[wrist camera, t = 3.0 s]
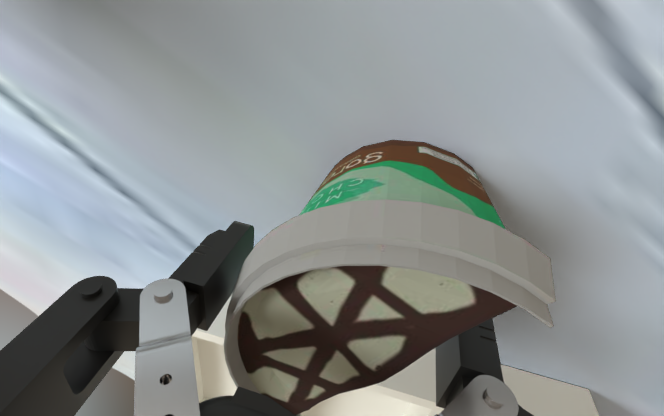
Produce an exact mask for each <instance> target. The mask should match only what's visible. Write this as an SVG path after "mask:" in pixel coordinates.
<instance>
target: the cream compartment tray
mask: <svg viewBox="0 0 664 416" xmlns="http://www.w3.org/2000/svg"><path fill="white" fill-rule="evenodd" d="M231 297H232V294H231V296H230V297H229V299H228V300H227V302H226V303H225V305H224V306H223V308H222V309H221V311H220V312H219V314H218V315H217V317H216V318H215V320H214V321H213V323H212V324H211V326H210V328H209V329H208V331H205V330H201V329H198V328H197V329H196V331H195V332H194V334H193V335H192V337H191V338H192V346H193V355H194V363H195V372H196V380H197V389H198V397H199V403H201V402H203V401H205V400H208V399H211V398H215V397H219V396H234V394H235V392H236V390H237V387H236V385H235V383H234V381H233V379H232V378H231V376H230V373H229V370H228V367H227V364H226V361H225V353H224V339H225V322H226V315H227V309H228V306H229V303H230V300H231ZM501 369H502V375H503V380H504V384H506V385H507V386H508V387H509V388H510V390H511V391H512V392H513V394H514V395H515V397H516V399H517V402H518V404H519V405H520V406H521V407H522V408H523V409H525V410H526V411H528V412H529V413H531V414H532V415H534V416H599V414H598V412H597V409H596V407H595V404H594V402H593V399H592V397H591V394H590V392H589V389H585V388H582V387H578V386H575V385H571V384H568V383H564V382H561V381H557V380H554V379H550V378H547V377H544V376H540V375H537V374H533V373H530V372H526V371H523V370H519V369H516V368H512V367H509V366H505V365H502V364H501ZM443 410H444V408H441V407H438V406H436V349H435V348H434V349H433V350H431V351H430V352H428V353H427V354H425V355H424V356H422V357H421V358H419V359H418V360H416V361H415V362H413V363H412V364H410V365H409V366H408V367H406V368H405V369H403V370H402V371H400V372H398V373H397V374H395V375H393V376H391V377H390V378H388V379H387V380H385V381H383V382H380V383H377V384H374V385H371V386H368V387H365V388H361V389H357V390H353V391H349V392H345V393H341V394H337V395H335V396H333V397H331V398H329V399H326V400H324V401H322V402H320V403H318V404H316V405H315V406H313V407H312V408H311V409H310V410H308V411H304V412H302V413H301V415H300V416H435V415H436V414H438V415H439V414H440V413H441V412H442V411H443Z"/></svg>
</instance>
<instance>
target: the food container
mask: <svg viewBox="0 0 664 416" xmlns="http://www.w3.org/2000/svg"><path fill="white" fill-rule="evenodd" d="M555 301H556V298H555V291H554V283H553V276H552V268H551V261H550V258H549V257H548V256H546V255H545V254H544V253H542V252H541V251H540V250H538V249H537V248H535V247H534V246H533V245H531V244H530V243H529V242H527V241H526V240H525V239H523V238H521V237H519V236H517V235H515V234H513V233H511V232H510V231H508V230H506V229H505V227H504V225H503V223H502V221H501V220H500V218H499V216H498V214H497V212H496V210H495V208H494V207H493V205H492V203H491V201H490V199H489V197H488V195H487V194H486V192H485V190H484V188H483V186H482V184H481V182H480V180H479V179H478V177H477V175H476V173H475V171H474V169H473V168H472V167H471V166H470V165H468V164H467V163H466V162H464V161H463V160H462V159H460V158H459V157H458V156H456V155H455V154H453V153H451V152H448V151H446V150H443V149H440V148H438V147H435V146H433V145H430V144H427V143H425V142H414V141H400V140H390V141H385V142H381V143H376V144H372V145H368V146H363V147H361V148H360V149H358V150H356V151H355V152H353V153H351V154H349V155H348V156H346V157H344V158H343V159H342V160H341V161H340V162H339V163H338V164H336V165H335V167H334V168H333V169H332V170H331V172H330V173H329V174H328V176H327V177H326V178H325V180H324V181H323V183H322V184H321V185H320V187H319V188H318V190H317V191H316V192H315V194H314V195H313V197H312V198H311V199H310V201H309V202H308V204H307V205H306V207H305V208H304V209H303V211H302V212H301V214H300V215H299V216H296V217H294V218H292V219H290V220H289V221H287V222H285V223H283V224H282V225H280V226H278V227H277V228H275V229H273V230H272V231H271V232H270V233H269V234H267V235H266V236H265V237H264V238H263V239H262V240H261V241H260V242H258V243H257V244H256V245H255V247H254V248H253V250H252V251H251V252H250V254H249V255H248V257H247V258H246V259H245V261H244V263H243V266H242V268H241V271H240V273H239V276H238V278H237V281H236V284H235V287H234V290H233V293H232V297H231V300H230V303H229V306H228V309H227V315H226V322H225V339H224V353H225V361H226V364H227V367H228V370H229V373H230V376H231V378H232V379H233V381H234V383H235V385H236V387H237V388H238V386H239V387H242V388H245V389H248V390H251V391H254V392H257V393H259V394H262V395H265V396H268V397H269V398H271V399H272V400H274V401H275V402H277V403H278V404H280V405H281V406H282V407H284V408H285V409H287V410H288V411H290V412H291V413H293V414H294V415H297V416H300V415H301V413H302V412H304V411H308V410H310V409H311V408H312V407H313V406H315V405H316V404H318V403H320V402H322V401H324V400H326V399H329V398H331V397H333V396H335V395H337V394H341V393H345V392H349V391H353V390H357V389H361V388H365V387H368V386H371V385H374V384H377V383H380V382H383V381H385V380H387V379H388V378H390V377H391V376H393V375H395V374H397V373H398V372H400V371H402V370H403V369H405V368H406V367H408V366H409V365H410V364H412V363H413V362H415V361H416V360H418V359H419V358H421V357H422V356H424V355H425V354H427V353H428V352H430V351H431V350H433V349H434V348H436V347H438V346H439V345H441V344H443V343H444V342H446V341H447V340H449V339H451V338H453V337H455V336H457V335H459V334H461V333H463V332H465V331H467V330H469V329H471V328H473V327H475V326H477V325H479V324H481V323H483V322H485V321H487V320H489V319H491V318H493V317H495V316H497V315H500V314H502V313H504V312H506V311H508V310H510V309H512V308H515V307H517V306H519V307H520V308H522V309H524V310H526V311H527V312H529V313H530V314H531V315H533V316H534V317H536V318H537V319H538V320H540V321H541V322H543V323H544V324H545V325H547V326H548V327H550V328H552V327H554V325H553V322H552V319H551V316H550V312H549V309H548V306H547V304H550V303H553V302H555Z"/></svg>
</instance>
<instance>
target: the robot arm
mask: <svg viewBox="0 0 664 416" xmlns="http://www.w3.org/2000/svg"><path fill="white" fill-rule="evenodd" d="M253 246H254V227H253V226H252V225H248V224H244V223H241V222H237V221H234V222H233V223H232V224H231V225H230V227H229V228H228V229H227V230H226V231H222V230H218V231H216V232H214V233H212V234H210V235H208V236H207V237H206V238H205V239H204V240H203V241H202V242H201V244H200V246H198V247H197V248H196V249H195V250H194V252H193V253H191V254H190V256H189V257H188V258H187V259H186V260H185V261H184V262H183V263H182V264H181V265H180V266H179V267H178V269H177V270H176V271H175V272H174V273H173V274H172V275H171V276H170V277H169V278H168V279H161V280H157V281H154V282H152V283H150V284H149V285H148V286H146V287H145V288H144V289H124V288H117V285H116V283H115V281H114V280H113V279H111V278H109V277H105V276H94V277H90V278H86V279H84V280H81V281H79V282H78V283H76V284H75V285H73V286H72V287H71V288H70V289H69V290H68V291H67V292H65V293H64V294H63V295H62V296H61V297H60V298H59V299H58V300H57V301H55V302H54V303H53V304H52V305H51V306H50V307H49V308H48V309H46V310H45V311H44V312H43V313H42V314H41V315H40V316H39V317H38V318H37V319H35V320H34V321H33V322H32V323H31V324H30V325H29V326H28V327H26V328H25V329H24V330H23V331H22V332H21V333H20V334H19V335H17V336H16V337H15V338H14V339H13V340H12V341H11V342H10V343H9V344H7V345H6V346H5V347H4V348H3V349H2V350H1V351H0V416H74V415H75V414H76V412H77V411H78V410H79V409H80V408H81V406H82V405H83V404H84V402H85V401H86V400H87V398H88V397H89V396H90V395H91V393H92V392H93V391H94V390H95V388H96V387H97V386H98V384H99V383H100V382H101V381H102V379H103V378H104V377H105V375H106V374H107V372H108V371H109V370H110V369H111V368H112V366H113V365H114V364H115V363H116V361H117V360H118V359H119V357H120V356H121V355H122V353H123V352H124V351H136V355H135V398H134V416H297V415H294V414H293V413H291V412H290V411H288V410H287V409H285V408H284V407H282V406H281V405H280V404H278V403H277V402H275V401H274V400H272V399H271V398H269V397H268V396H265V395H262V394H259V393H257V392H254V391H251V390H248V389H245V388H242V387H239V386H238V388H237V390H236V392H235V394H234V396H219V397H215V398H211V399H208V400H205V401H203V402H201V403H199V397H198V389H197V380H196V372H195V363H194V355H193V346H192V338H191V337H192V335H193V334H194V332H195V331H196V329H197V328H198V329H201V330H205V331H208V329H209V328H210V326H211V324H212V323H213V321H214V320H215V318H216V317H217V315H218V314H219V312H220V311H221V309H222V308H223V306H224V305H225V303H226V302H227V300H228V299H229V297H230V296H231V294H232V293H233V290H234V287H235V284H236V281H237V278H238V276H239V273H240V271H241V268H242V266H243V263H244V261H245V259H246V258H247V257H248V255H249V254H250V252H251V251H252V250H253ZM435 349H436V406H438V407H441V408H444V410H443V411H442V412H441V413H440V414H439V415H438V414H436V415H435V416H534V415H532V414H531V413H529V412H528V411H526V410H525V409H523V408H522V407H521V406H520V405H519V404H518V402H517V399H516V397H515V395H514V394H513V392H512V391H511V390H510V388H509V387H508V386H507V385H506V384H504V380H503V375H502V369H501V364H500V359H499V353H498V348H497V343H496V337H495V332H494V326H493V320H492V318H491V319H489V320H487V321H485V322H483V323H481V324H479V325H477V326H475V327H473V328H471V329H469V330H467V331H465V332H463V333H461V334H459V335H457V336H455V337H453V338H451V339H449V340H447V341H446V342H444V343H443V344H441V345H439V346H438V347H436V348H435Z"/></svg>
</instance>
